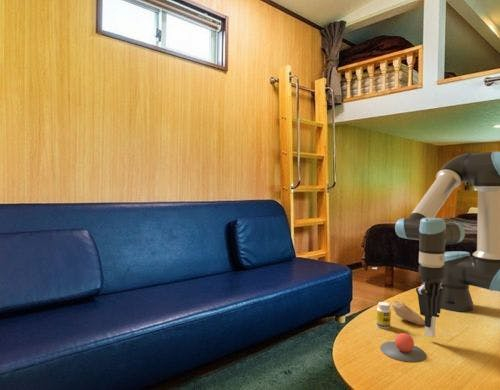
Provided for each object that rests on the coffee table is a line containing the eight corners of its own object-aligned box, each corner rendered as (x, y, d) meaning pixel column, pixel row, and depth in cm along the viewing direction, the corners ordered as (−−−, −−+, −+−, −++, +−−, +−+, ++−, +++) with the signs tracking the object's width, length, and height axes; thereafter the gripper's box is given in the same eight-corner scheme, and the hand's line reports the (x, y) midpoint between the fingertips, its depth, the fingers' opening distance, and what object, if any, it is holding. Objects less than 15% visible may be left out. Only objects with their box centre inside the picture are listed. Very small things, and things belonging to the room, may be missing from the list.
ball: (403, 351, 112) (408, 334, 113) (415, 357, 107) (420, 339, 108) (388, 345, 111) (394, 328, 112) (399, 351, 106) (405, 333, 107)
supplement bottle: (383, 330, 126) (384, 306, 125) (373, 325, 130) (374, 302, 129) (393, 327, 128) (393, 304, 127) (382, 322, 132) (383, 300, 132)
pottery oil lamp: (419, 329, 126) (420, 310, 126) (386, 320, 135) (387, 302, 134) (428, 323, 132) (429, 304, 132) (396, 314, 141) (397, 296, 140)
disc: (408, 340, 117) (408, 340, 117) (436, 360, 104) (436, 359, 104) (372, 343, 114) (372, 343, 114) (396, 364, 102) (396, 363, 102)
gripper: (430, 269, 109) (428, 344, 110) (454, 265, 116) (452, 335, 117) (408, 264, 116) (407, 335, 116) (432, 260, 122) (430, 327, 123)
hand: (429, 335), depth 116 cm, fingers closed
